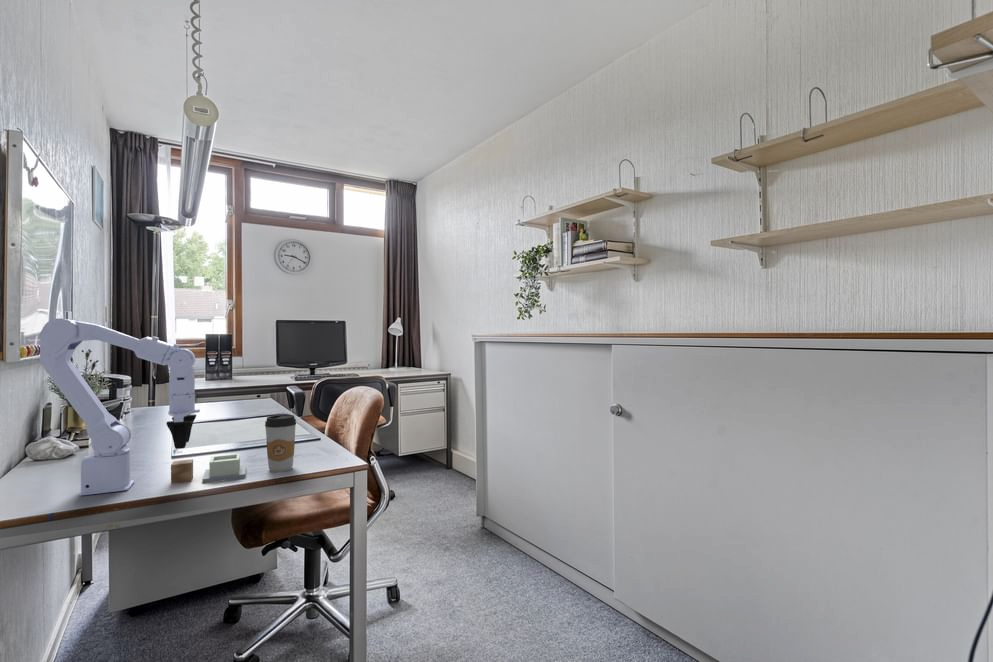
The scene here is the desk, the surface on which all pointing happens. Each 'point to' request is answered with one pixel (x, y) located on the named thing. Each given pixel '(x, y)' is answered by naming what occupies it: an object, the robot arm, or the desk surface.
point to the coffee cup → (280, 442)
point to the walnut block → (181, 471)
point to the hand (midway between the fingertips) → (182, 445)
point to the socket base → (225, 477)
